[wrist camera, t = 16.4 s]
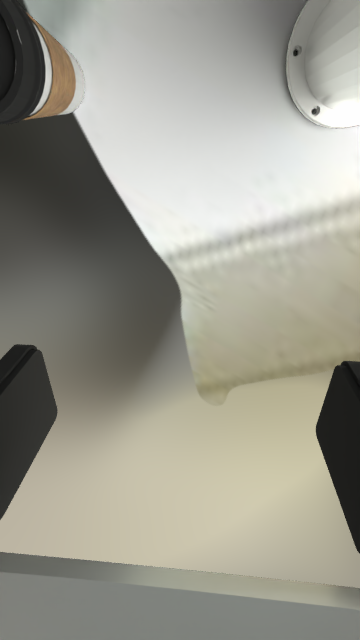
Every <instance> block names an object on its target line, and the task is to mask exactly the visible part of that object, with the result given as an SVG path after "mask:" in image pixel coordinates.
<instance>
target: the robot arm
mask: <svg viewBox="0 0 360 640" xmlns="http://www.w3.org/2000/svg"><path fill="white" fill-rule="evenodd" d="M294 50H297V52H298V54H297V56H294V55H293V52H294ZM286 76H287V83H288V88H289V91H290V94H291V97H292V99H293V101H294V103H295V105H296V106H297V108H298V109H299V111H300V112H301V113H302V114H303V115H304V116H305V117H306V118H307V119H309V120H310V121H312V122H313V123H315V124H318V125H320V126H323V127H327V128H336V129H337V128H348V127H353V126H358V125H360V0H308V1H307V3H306V4H305V6H304V7H303V9H302V11H301V13H300V15H299V17H298V19H297V21H296V23H295V25H294V28H293V31H292V34H291V37H290V40H289V45H288V51H287V57H286ZM313 108H314V109H315V110H316V112H315V114H312V109H313ZM56 416H57V406H56V403H55V399H54V395H53V392H52V388H51V385H50V381H49V377H48V373H47V370H46V366H45V362H44V359H43V355H42V352H41V351H40V350H37V348H36V347H35V346H34V345H18V344H17V345H14V346H13V347H12V348H11V349H10V350H9V351H8V352H7V353H6V354H5V355H4V356H3V357H2V359H1V360H0V519H1V518H2V517H3V515H4V513H5V512H6V510H7V508H8V506H9V504H10V502H11V501H12V499H13V497H14V495H15V493H16V491H17V490H18V488H19V485H20V484H21V482H22V480H23V478H24V477H25V475H26V473H27V471H28V469H29V468H30V466H31V464H32V462H33V460H34V458H35V456H36V455H37V453H38V451H39V449H40V447H41V445H42V444H43V442H44V440H45V438H46V436H47V434H48V432H49V431H50V429H51V427H52V425H53V423H54V421H55V419H56ZM316 435H317V439H318V441H319V445H320V447H321V450H322V453H323V456H324V459H325V462H326V464H327V467H328V470H329V473H330V476H331V478H332V481H333V484H334V487H335V489H336V492H337V495H338V498H339V501H340V504H341V507H342V509H343V512H344V515H345V518H346V521H347V524H348V527H349V529H350V532H351V535H352V538H353V541H354V543H355V546H356V549H357V551H358V552H359V553H360V362H355V361H343V362H342V363H341V365H337V366H336V367H335V369H334V372H333V375H332V378H331V381H330V384H329V388H328V391H327V394H326V397H325V400H324V403H323V406H322V410H321V412H320V416H319V419H318V422H317V425H316ZM0 640H360V589H359V588H352V587H344V586H336V585H327V584H319V583H309V582H300V581H290V580H281V579H271V578H262V577H261V578H260V577H252V576H242V575H233V574H223V573H213V572H203V571H193V570H182V569H173V568H163V567H153V566H142V565H132V564H122V563H111V562H100V561H91V560H80V559H70V558H59V557H48V556H37V555H26V554H15V553H5V552H0Z"/></svg>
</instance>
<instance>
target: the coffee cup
mask: <svg viewBox="0 0 360 640" xmlns="http://www.w3.org/2000/svg"><path fill="white" fill-rule="evenodd" d="M84 93H85V79H84V75H83V72H82V69H81V67H80V65H79V63H78V61H77V60H76V59H75V57H74V56H73V55H72V54H71V53H70V52H69V51H67V50H66V49H65V48H64V47H63V46H62V45H61V44H60V43H59V42H58V41H57V40H56V39H55V38H54V37H52V36H51V35H50V34H49V33H48V32H47V31H46V30H45V29H44V28H43V27H42V26H41V25H40V24H39V23H38V22H37V21H36V20H34V19H33V18H32V17H31V16H30V15H29V14H28V13H27V12H26V11H25V10H24V8H23V7H22V6H21V5H20V4H19V3H18V1H17V0H0V124H12V123H17V122H19V121H21V120H27V119H33V118H40V117H47V116H53V115H61V114H68V113H71V112H73V111H75V110H76V109H77V108H78V107H79V105H80V104H81V102H82V100H83V97H84Z"/></svg>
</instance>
